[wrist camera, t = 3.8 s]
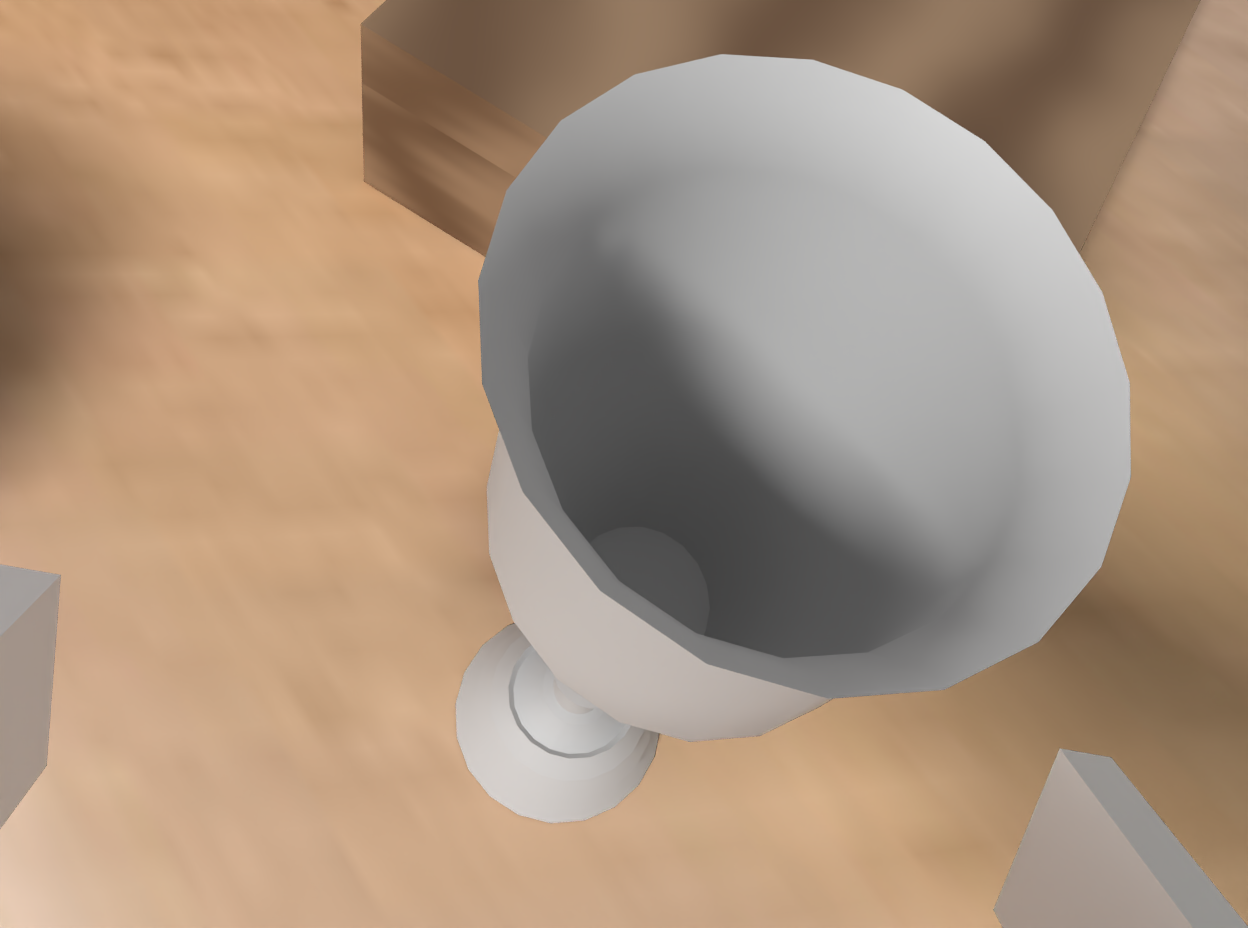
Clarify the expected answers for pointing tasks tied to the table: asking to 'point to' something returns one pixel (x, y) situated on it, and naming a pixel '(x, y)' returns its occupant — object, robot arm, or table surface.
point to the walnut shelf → (767, 27)
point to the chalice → (772, 421)
